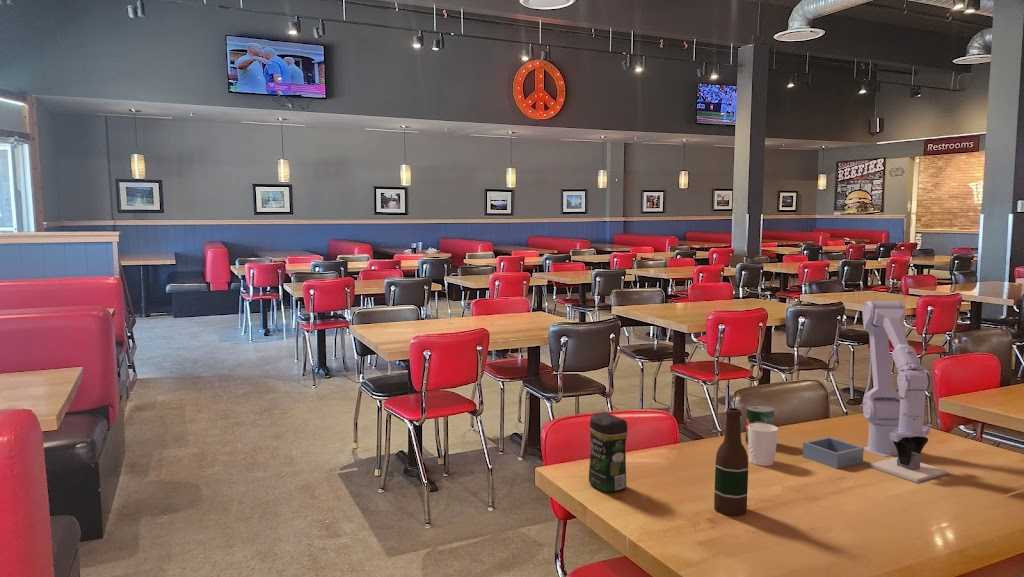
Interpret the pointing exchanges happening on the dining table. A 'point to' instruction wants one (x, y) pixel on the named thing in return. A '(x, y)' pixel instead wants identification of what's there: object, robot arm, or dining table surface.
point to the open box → (833, 452)
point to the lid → (909, 468)
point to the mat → (911, 480)
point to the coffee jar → (608, 452)
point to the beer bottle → (731, 469)
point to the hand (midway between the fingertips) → (908, 463)
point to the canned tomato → (758, 416)
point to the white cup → (762, 443)
